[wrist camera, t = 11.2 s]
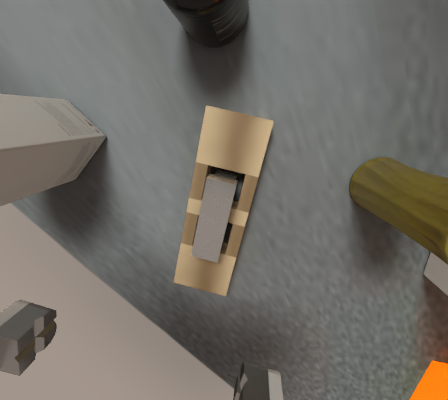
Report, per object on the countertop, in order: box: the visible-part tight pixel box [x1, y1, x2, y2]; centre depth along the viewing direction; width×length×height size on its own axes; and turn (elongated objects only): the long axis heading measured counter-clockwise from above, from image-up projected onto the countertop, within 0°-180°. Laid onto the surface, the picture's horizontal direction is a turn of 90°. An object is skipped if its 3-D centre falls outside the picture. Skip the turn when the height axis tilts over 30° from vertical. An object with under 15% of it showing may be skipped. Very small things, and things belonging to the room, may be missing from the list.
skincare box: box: [0, 94, 106, 206], centre depth 23 cm, size 8×7×16 cm
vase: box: [350, 157, 448, 265], centre depth 21 cm, size 6×6×14 cm
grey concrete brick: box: [191, 170, 238, 263], centre depth 28 cm, size 3×9×6 cm, turn 168°
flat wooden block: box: [174, 105, 274, 296], centre depth 29 cm, size 7×22×3 cm, turn 167°
